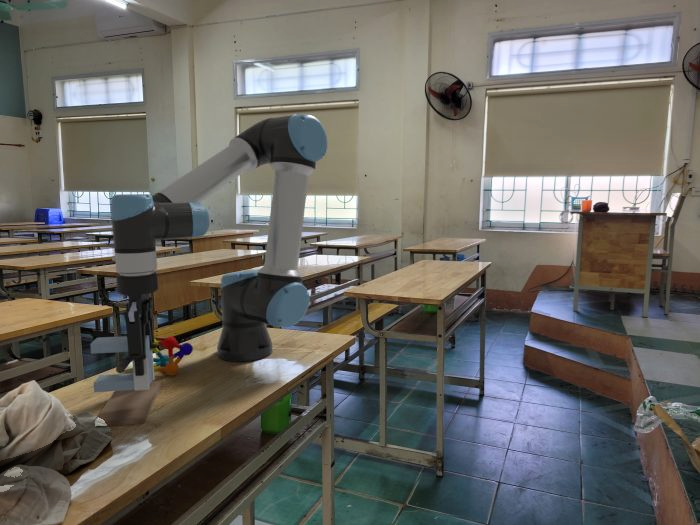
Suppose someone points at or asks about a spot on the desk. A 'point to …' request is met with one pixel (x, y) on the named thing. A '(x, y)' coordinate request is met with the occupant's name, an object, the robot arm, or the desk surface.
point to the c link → (116, 380)
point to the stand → (129, 402)
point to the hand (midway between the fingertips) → (144, 384)
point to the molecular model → (170, 355)
